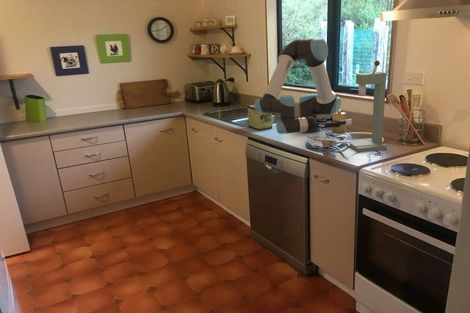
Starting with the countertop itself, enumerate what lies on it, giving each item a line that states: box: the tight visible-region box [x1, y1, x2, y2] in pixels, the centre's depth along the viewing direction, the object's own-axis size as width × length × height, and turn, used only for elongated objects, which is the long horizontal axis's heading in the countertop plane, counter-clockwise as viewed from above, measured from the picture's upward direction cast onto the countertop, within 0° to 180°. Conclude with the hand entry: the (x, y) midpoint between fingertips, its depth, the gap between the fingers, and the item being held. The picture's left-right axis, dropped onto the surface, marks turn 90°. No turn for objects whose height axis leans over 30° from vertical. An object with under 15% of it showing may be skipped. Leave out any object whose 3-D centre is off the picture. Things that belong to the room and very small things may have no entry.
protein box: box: [247, 104, 273, 132], centre depth 255 cm, size 10×16×16 cm
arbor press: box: [349, 60, 388, 153], centre depth 194 cm, size 16×16×46 cm
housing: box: [331, 109, 347, 135], centre depth 195 cm, size 7×7×12 cm
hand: (348, 120), depth 195 cm, fingers closed on housing, 7 cm apart
